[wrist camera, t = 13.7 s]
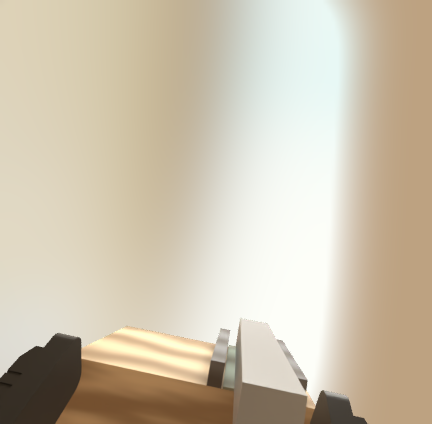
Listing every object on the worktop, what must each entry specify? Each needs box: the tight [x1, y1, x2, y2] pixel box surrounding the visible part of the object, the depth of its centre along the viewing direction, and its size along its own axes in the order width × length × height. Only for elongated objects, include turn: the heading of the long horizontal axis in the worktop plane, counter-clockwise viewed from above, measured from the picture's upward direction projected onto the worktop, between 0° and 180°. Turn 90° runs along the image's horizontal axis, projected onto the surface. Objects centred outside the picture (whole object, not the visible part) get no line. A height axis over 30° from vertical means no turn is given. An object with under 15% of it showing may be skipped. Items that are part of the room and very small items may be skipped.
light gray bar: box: [233, 318, 308, 424], centre depth 31 cm, size 26×4×4 cm, turn 176°
